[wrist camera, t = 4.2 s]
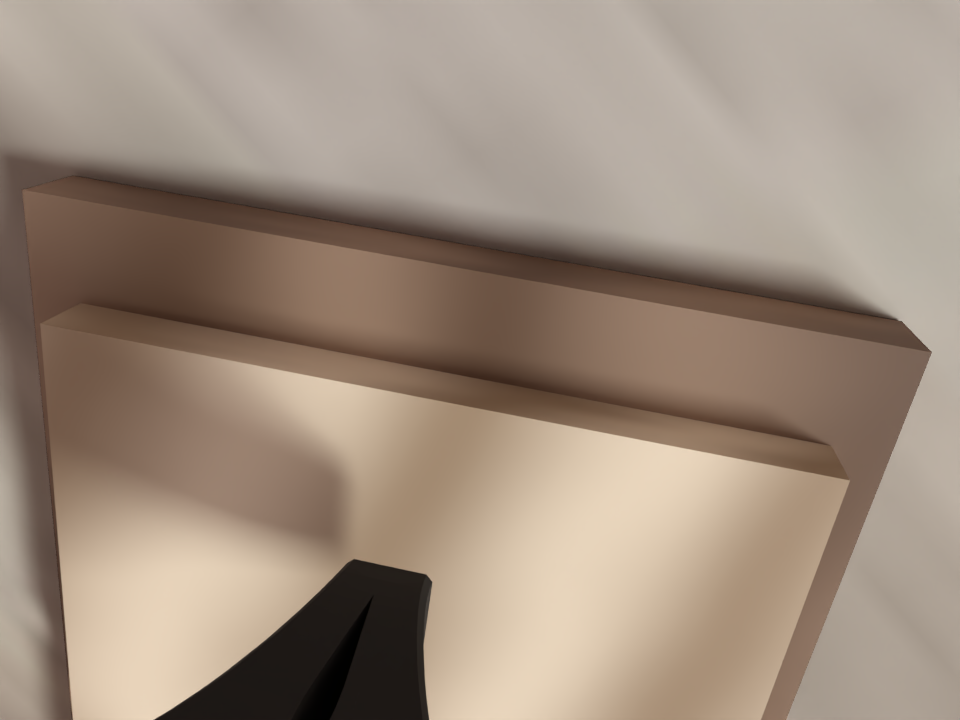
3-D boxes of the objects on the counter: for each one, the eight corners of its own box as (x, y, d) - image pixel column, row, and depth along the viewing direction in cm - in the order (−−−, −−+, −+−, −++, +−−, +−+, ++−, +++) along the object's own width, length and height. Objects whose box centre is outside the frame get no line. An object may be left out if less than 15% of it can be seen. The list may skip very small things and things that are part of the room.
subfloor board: (901, 321, 14) (960, 381, 12) (655, 981, 23) (660, 1098, 20) (73, 175, 16) (-27, 203, 13) (118, 846, 24) (62, 940, 21)
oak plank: (831, 445, 14) (850, 480, 13) (693, 833, 18) (698, 886, 17) (81, 302, 15) (39, 323, 14) (105, 696, 19) (74, 736, 18)
